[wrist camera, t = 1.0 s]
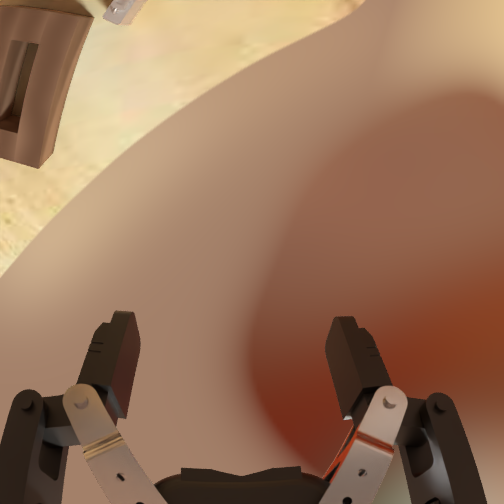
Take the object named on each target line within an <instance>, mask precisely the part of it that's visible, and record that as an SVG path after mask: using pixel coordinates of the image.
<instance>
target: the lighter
mask: <svg viewBox="0 0 504 504" xmlns="http://www.w3.org/2000/svg"><path fill="white" fill-rule="evenodd" d="M146 1H147V0H113V1H112V2H111V4H110V5H109V7H108V9H107V10H106V12H105V13H104V15H103V19H105V20H108V21H110V22H112V23H114V24H116V25H131V23H132V22H133V20H134V19H135V17H136V16H137V14H138V13H139V11H140V10H141V8H142V7H143V6H144V4H145V3H146Z"/></svg>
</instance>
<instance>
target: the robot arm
mask: <svg viewBox="0 0 504 504" xmlns="http://www.w3.org/2000/svg"><path fill="white" fill-rule="evenodd" d="M325 352H326V358H327V361H328V365H329V368H330V372H331V376H332V379H333V383H334V387H335V390H336V394H337V398H338V402H339V406H340V409H341V413H342V417H343V420H347V419H352V420H353V423H354V425H353V427H352V428H351V430H350V432H349V434H348V436H347V438H346V440H345V441H344V443H343V445H342V447H341V449H340V451H339V452H338V454H337V456H336V458H335V460H334V461H333V463H332V464H331V466H330V467H329V469H328V470H327V471H326V473H325V475H324V476H323V478H319V477H317V476H315V475H312V474H308V473H303V472H301V467H300V466H297V467H284V468H272V469H268V470H264V471H261V472H257V473H253V474H249V475H245V476H238V475H233V474H228V473H224V472H219V471H216V470H212V469H193V468H181V474H177V475H173V476H170V477H167V478H164V479H162V480H160V481H158V482H157V483H155V484H154V485H153V483H152V482H151V480H150V479H149V478H148V476H147V475H146V474H145V472H144V471H143V469H142V468H141V466H140V465H139V463H138V462H137V460H136V459H135V457H134V456H133V454H132V453H131V451H130V449H129V448H128V446H127V445H126V443H125V442H124V440H123V438H122V437H121V435H120V433H119V431H118V430H117V428H116V424H117V420H118V418H124V419H126V417H127V412H128V406H129V401H130V396H131V390H132V386H133V381H134V376H135V371H136V367H137V362H138V358H139V353H140V336H139V331H138V327H137V322H136V318H135V314H134V312H127V311H115V312H114V314H113V317H112V320H111V323H102V324H101V325H100V326H99V328H98V329H97V330H96V331H95V333H94V335H93V338H92V341H91V344H90V346H89V349H88V352H87V355H86V358H85V360H84V363H83V366H82V369H81V372H80V375H79V378H78V381H77V383H76V385H73V386H71V387H70V388H69V389H68V390H67V391H66V392H65V394H63V395H59V396H52V397H41V395H40V394H39V393H38V392H36V391H35V390H30V389H29V390H23V391H21V392H20V393H18V394H17V395H16V397H15V398H14V400H13V402H12V406H11V409H10V412H9V415H8V418H7V422H6V425H5V429H4V432H3V436H2V440H1V444H0V504H61V501H62V492H63V483H64V476H65V468H66V462H67V455H68V449H69V446H72V445H81V446H82V448H83V450H84V452H83V454H84V457H85V459H86V461H87V463H88V465H89V467H90V469H91V471H92V472H93V474H94V476H95V478H96V480H97V481H98V483H99V485H100V486H101V488H102V490H103V491H104V493H105V495H106V497H107V498H108V500H109V501H110V503H111V504H371V503H372V501H373V499H374V497H375V495H376V493H377V491H378V489H379V487H380V484H381V482H382V480H383V478H384V476H385V474H386V471H387V469H388V467H389V464H390V462H391V460H392V457H393V454H394V449H392V447H393V445H398V446H399V450H400V454H401V458H402V462H403V466H404V471H405V475H406V480H407V484H408V489H409V493H410V498H411V503H412V504H487V501H486V497H485V494H484V490H483V487H482V483H481V480H480V477H479V473H478V470H477V466H476V463H475V460H474V457H473V454H472V452H471V448H470V445H469V443H468V439H467V437H466V434H465V431H464V428H463V426H462V423H461V420H460V418H459V415H458V412H457V410H456V407H455V405H454V403H453V401H452V399H451V398H450V397H448V396H447V395H445V394H443V393H433V394H431V395H430V396H429V397H428V398H427V399H426V400H423V399H416V398H409V397H406V396H405V394H404V393H403V392H402V391H401V390H400V389H398V388H396V387H394V386H393V385H392V383H391V380H390V378H389V375H388V373H387V370H386V368H385V365H384V363H383V360H382V358H381V357H380V353H379V351H378V349H377V346H376V344H375V341H374V339H373V337H372V336H371V334H370V333H369V332H368V331H367V330H366V329H365V328H358V325H357V323H356V320H355V318H354V317H353V316H344V317H343V316H341V317H335V318H334V319H333V322H332V325H331V328H330V331H329V334H328V337H327V340H326V345H325Z"/></svg>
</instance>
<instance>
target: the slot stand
mask: <svg viewBox="0 0 504 504" xmlns="http://www.w3.org/2000/svg"><path fill="white" fill-rule="evenodd" d="M93 20H94V18H93V17H88V16H83V15H78V14H73V13H68V12H62V11H56V10H50V9H43V8H35V7H27V6H0V158H3V159H6V160H10V161H13V162H17V163H20V164H24V165H27V166H30V167H34V168H37V169H39V168H40V167H41V165H42V164H43V163H44V162H45V161H46V160H47V159H48V158H49V157H50V156H51V154H52V153H53V151H54V146H55V141H56V137H57V132H58V128H59V123H60V119H61V115H62V111H63V108H64V104H65V100H66V97H67V93H68V90H69V86H70V83H71V80H72V77H73V74H74V70H75V67H76V64H77V62H78V59H79V56H80V53H81V50H82V48H83V45H84V42H85V40H86V37H87V34H88V32H89V29H90V27H91V25H92V22H93ZM29 43H35V44H39V46H38V49H37V52H36V56H35V59H34V62H33V66H32V70H31V73H30V77H29V81H28V85H27V89H26V94H25V98H24V103H23V107H22V112H21V117H19V116H15V115H12V109H13V104H14V99H15V94H16V90H17V85H18V81H19V77H20V73H21V69H22V65H23V62H24V58H25V55H26V51H27V48H28V45H29Z"/></svg>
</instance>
